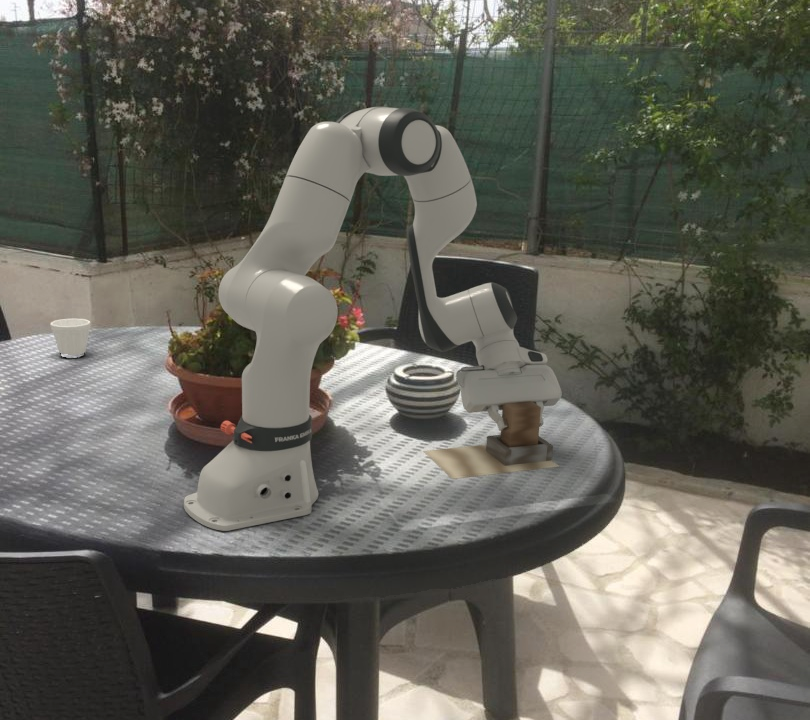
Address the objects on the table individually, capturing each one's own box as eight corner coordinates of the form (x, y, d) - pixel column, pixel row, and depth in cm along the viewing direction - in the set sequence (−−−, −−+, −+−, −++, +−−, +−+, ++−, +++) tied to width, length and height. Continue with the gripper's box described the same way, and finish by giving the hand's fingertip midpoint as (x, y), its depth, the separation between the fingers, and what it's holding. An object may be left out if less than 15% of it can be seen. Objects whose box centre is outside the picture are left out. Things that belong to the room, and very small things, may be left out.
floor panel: (451, 486, 149) (453, 463, 148) (422, 458, 161) (423, 436, 160) (559, 473, 156) (561, 451, 155) (523, 447, 169) (525, 426, 168)
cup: (78, 349, 230) (75, 316, 228) (100, 355, 225) (98, 322, 222) (44, 356, 222) (42, 322, 220) (67, 363, 217) (64, 328, 214)
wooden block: (509, 454, 157) (512, 409, 155) (499, 447, 161) (502, 403, 159) (537, 451, 160) (541, 407, 157) (527, 444, 163) (530, 400, 161)
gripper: (459, 359, 159) (478, 424, 152) (553, 353, 166) (574, 415, 159) (448, 375, 164) (466, 439, 157) (540, 369, 171) (560, 430, 165)
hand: (521, 427), depth 158 cm, fingers closed on wooden block, 6 cm apart
